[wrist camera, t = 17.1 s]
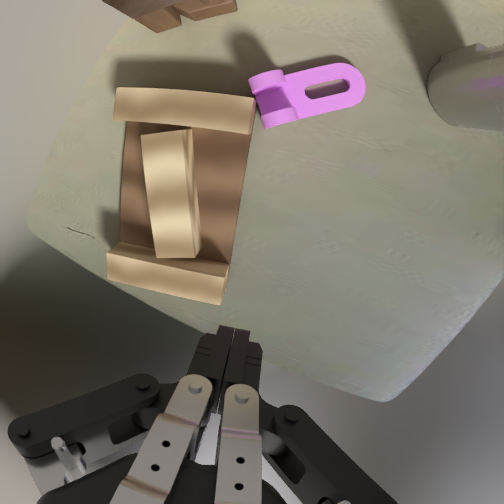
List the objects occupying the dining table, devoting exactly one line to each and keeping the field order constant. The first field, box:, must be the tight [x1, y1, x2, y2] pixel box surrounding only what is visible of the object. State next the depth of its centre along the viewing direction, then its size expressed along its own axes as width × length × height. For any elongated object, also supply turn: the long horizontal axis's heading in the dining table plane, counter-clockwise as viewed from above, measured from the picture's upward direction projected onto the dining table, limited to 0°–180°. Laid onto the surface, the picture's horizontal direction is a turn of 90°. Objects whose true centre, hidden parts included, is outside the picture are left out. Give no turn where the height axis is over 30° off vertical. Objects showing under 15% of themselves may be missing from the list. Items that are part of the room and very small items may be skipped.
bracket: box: [248, 63, 366, 129], centre depth 31 cm, size 13×6×7 cm, turn 108°
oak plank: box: [141, 129, 203, 258], centre depth 37 cm, size 15×5×4 cm, turn 3°
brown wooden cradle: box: [107, 87, 257, 305], centre depth 38 cm, size 25×16×5 cm, turn 170°
